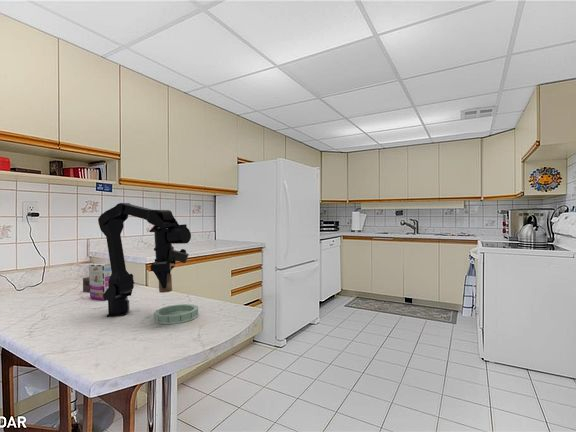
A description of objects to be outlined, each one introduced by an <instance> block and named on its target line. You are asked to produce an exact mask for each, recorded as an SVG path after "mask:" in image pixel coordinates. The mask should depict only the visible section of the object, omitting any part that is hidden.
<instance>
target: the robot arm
mask: <svg viewBox="0 0 576 432" xmlns="http://www.w3.org/2000/svg"><path fill="white" fill-rule="evenodd" d="M129 216H132V217H134V218H139V219H142V220H145V221H147V223H148V224H149V225H150V224H151V225H153V226H152V228H150V229H149V231H148V232H149V233H153V234H154V248H153V251H154V252H155V259H154V262H152V263H151V265H150V269H149V270H150V272H153V273H154V275H155V277H156V278H157V280H158V283H159V282H160V284H161V286H162V288H166V286H167V278H168V274H172V273H171V272H172V270H173V269H174V268H175V267H176V264H177V263H178V262H180V263H182V264H186V263H187V261H188V257H189V255H190V254H189V253H187V249H185V248H184V249H183V248H182V249H180V250H176V249H175V246H173V245H178V244H179V245H181V244H184V245H185V244H188V243H190V241H191V238H192V233H191V231H190V229H189V228H188V227H187V226H188V225H187V224H185V223H184V224H179V222H178V221H177V220H176V218H175V216H174V214H173V212H172V211H171V210H169V209H152V208H149V207H148V208H147V207H143V206H139V205H135V204H131V203H129V202H119V203H117V204H116V205H114V206H113V207H111V208H110V209H108V210H105V211H104V212H103V213H101V214H100V216H99V217H98V219H97V221H98V226H99V229H100V231H101V232H102V233H103V235H104V236H105V237H106V244H107V250H108V255H109V256H108V257H109V264H110V265H111V271H112V274H111V276H110V278H109V281H108V284H109V288H108V289H107V290H106V291H105V293H104V294H103V298H104V300H105V301H107V308H108V309H107V311H108V313H107V315H106V317H108V318H109V317H116V316H125V315H127V314H128V313H129V312H130V310H131V309H130V300H129V298H128V297H131V296H132V294H133V293H132V292H133V289H134V287H135V285H134V284H135V283H136V282H135V281H134V274H133V273H129V272H128V271H127V266H126V261H125V256H124V255H125V254H124V249H123V243H122V235H121V234H122V232H123V230H124V222H125V221H127V219H128V218H129ZM172 264H173V265H172Z"/></svg>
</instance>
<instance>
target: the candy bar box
mask: <svg viewBox="0 0 576 432" xmlns="http://www.w3.org/2000/svg"><path fill="white" fill-rule="evenodd" d="M88 268H89V269H88V270H89V272H88V274H89V276H88V277H90V292H89V299H90V300H94V301H95V300H96V301H104V302H105V301H106V300H104V298H103V294H104V293H105V291H106V290H107V289H108V288H109V284H108V281H109V278H110V276H111V274H112V271H111V265H110V263H91V264H89V265H88Z"/></svg>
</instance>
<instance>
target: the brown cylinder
mask: <svg viewBox="0 0 576 432" xmlns="http://www.w3.org/2000/svg"><path fill="white" fill-rule="evenodd" d="M172 279H173V278H172V273H170V274H168V278H167V286H166V288H162V286H161V284H160V282H159V281H158V289H159V290H158V291H159V293H160V294H161V293H163V294H164V293H170V292H172V291H173V283H172V282H173V280H172Z"/></svg>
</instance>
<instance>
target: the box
mask: <svg viewBox="0 0 576 432" xmlns="http://www.w3.org/2000/svg"><path fill="white" fill-rule="evenodd" d="M82 292H83V293H90V277H89V276H88V277H82Z"/></svg>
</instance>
